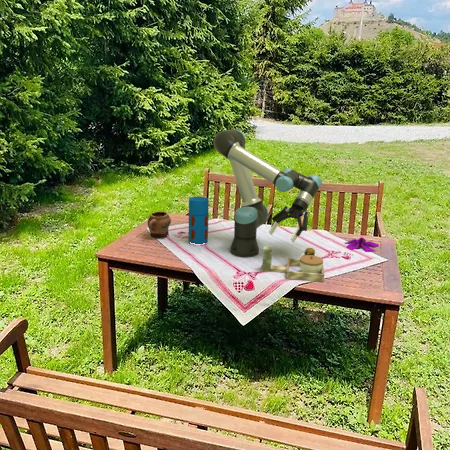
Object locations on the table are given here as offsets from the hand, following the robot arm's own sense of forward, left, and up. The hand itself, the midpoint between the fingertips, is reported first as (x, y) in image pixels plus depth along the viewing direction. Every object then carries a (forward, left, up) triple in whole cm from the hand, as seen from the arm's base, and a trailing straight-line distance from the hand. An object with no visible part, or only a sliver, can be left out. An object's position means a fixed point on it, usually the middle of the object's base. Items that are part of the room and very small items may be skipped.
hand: (281, 237), depth 211 cm
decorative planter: (-70, +25, -15) cm, 76 cm away
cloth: (+43, +38, -15) cm, 59 cm away
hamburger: (+15, +14, -15) cm, 25 cm away
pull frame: (+6, -8, -14) cm, 18 cm away
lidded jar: (+15, -9, -15) cm, 23 cm away
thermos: (-46, +22, -14) cm, 53 cm away
